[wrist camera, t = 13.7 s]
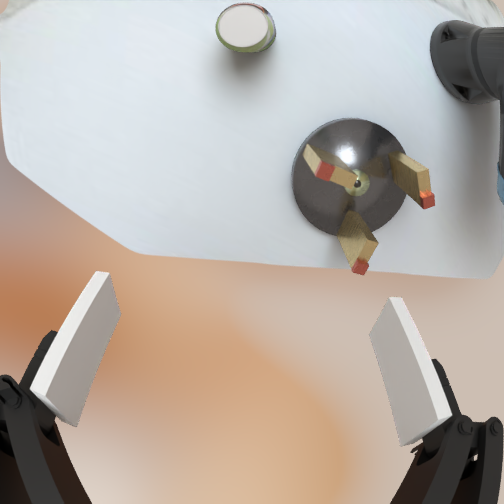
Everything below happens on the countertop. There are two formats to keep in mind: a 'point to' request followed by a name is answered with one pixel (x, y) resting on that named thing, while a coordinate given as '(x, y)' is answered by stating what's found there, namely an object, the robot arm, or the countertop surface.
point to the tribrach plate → (362, 163)
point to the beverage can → (246, 28)
